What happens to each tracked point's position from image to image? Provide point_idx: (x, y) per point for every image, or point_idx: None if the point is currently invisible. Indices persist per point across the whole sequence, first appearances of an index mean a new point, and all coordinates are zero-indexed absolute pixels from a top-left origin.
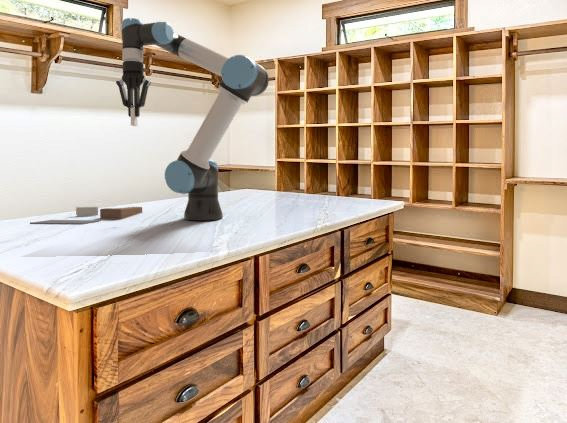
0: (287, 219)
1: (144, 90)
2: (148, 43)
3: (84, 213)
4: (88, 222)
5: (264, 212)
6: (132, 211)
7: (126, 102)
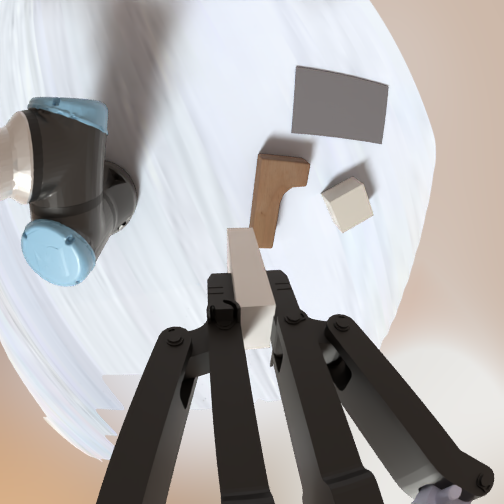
0: (4, 233)
1: (109, 470)
2: None
3: (346, 186)
4: (295, 87)
5: (98, 353)
6: (254, 203)
7: (340, 374)
